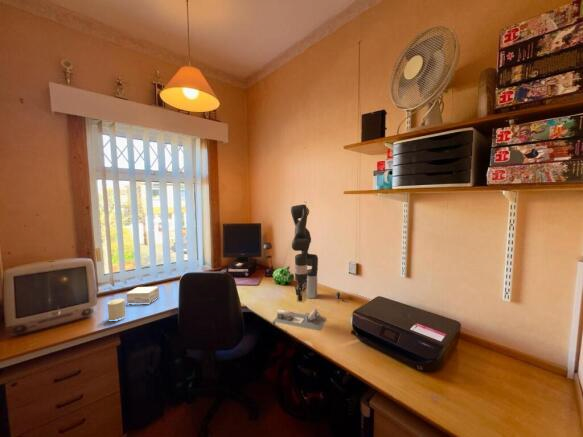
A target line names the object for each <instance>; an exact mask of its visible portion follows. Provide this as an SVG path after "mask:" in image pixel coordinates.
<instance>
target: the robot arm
mask: <svg viewBox="0 0 583 437" xmlns="http://www.w3.org/2000/svg"><path fill="white" fill-rule="evenodd" d="M290 214H291V216H292V220H293V223H294V226H295V227H294V237H293V238H292V242H291V248H292V250H293V251H295V252H298V251H299V252H301V253H298V254H296V255H295V256H294V280H295V281H297V283H296V285H297V286H294V288H295V294H296V296H297V295H298V301H302V291H303V289H306V299H307V298H308V299H316V298H318V270H319V268H318V267H319V264H318V263H319V257H318V255H317V254H314V253H309V248H310V246H311V245H310V244H311V242H312V237H311V233H310V231H309V230H308V228H307V222H308V221H307V220H308V207H307V205H306V204H297V205H292V206H291V207H290ZM308 267H311V268H309V269H308ZM300 289H302V290H300ZM300 291H301V292H300Z"/></svg>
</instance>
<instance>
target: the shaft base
mask: <svg viewBox="0 0 583 437" xmlns="http://www.w3.org/2000/svg"><path fill="white" fill-rule="evenodd" d="M327 319H328V318H327V317H326V318H325V317H321V313H320V312H319V311H318V309H317V308H313V309H312V310H311V312H305V314H303V313H297V312H294V311H290V310H286V309H285V310H284V309H277V314H276V317H275V318H274V320H273V321H272V324H274V325H275V324H276V323H277V324H278V323H279V324H283V325H289V326H294V327H297V328H298V327H300V328H304V329H305V328H306V329H310V330H315V331H318V332H319V331H320V332H321V331H322V328H323V326H324V325H325V323H326V321H327ZM277 324H276V325H277Z"/></svg>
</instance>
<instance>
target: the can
mask: <svg viewBox="0 0 583 437" xmlns="http://www.w3.org/2000/svg"><path fill="white" fill-rule="evenodd" d="M125 301H126V299H124V298H116V299H112V300H109V301H108V302H107V313H108V314H107V315H108V321H109V320H115V319H119V318H122V317H124V316H125V315H126V302H125ZM126 316H127V315H126Z"/></svg>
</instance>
